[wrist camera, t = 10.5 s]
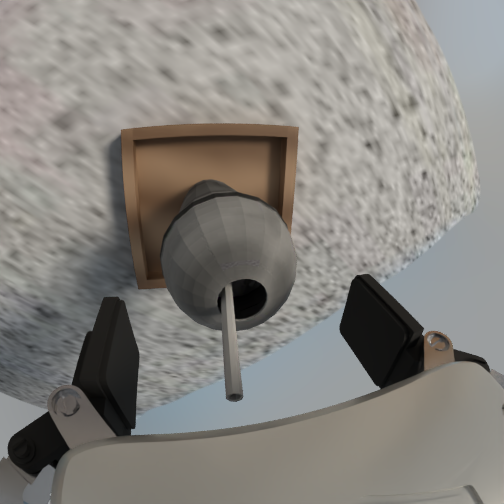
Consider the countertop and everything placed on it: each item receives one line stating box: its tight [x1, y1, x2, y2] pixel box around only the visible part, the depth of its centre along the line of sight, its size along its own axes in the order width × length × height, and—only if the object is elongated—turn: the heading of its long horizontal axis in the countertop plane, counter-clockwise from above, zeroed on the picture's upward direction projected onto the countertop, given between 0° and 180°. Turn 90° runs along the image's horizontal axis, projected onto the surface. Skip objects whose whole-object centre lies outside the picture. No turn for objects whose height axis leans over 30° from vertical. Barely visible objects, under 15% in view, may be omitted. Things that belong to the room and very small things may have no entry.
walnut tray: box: [121, 124, 299, 289], centre depth 25 cm, size 15×15×2 cm
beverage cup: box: [160, 179, 297, 402], centre depth 16 cm, size 7×7×20 cm
